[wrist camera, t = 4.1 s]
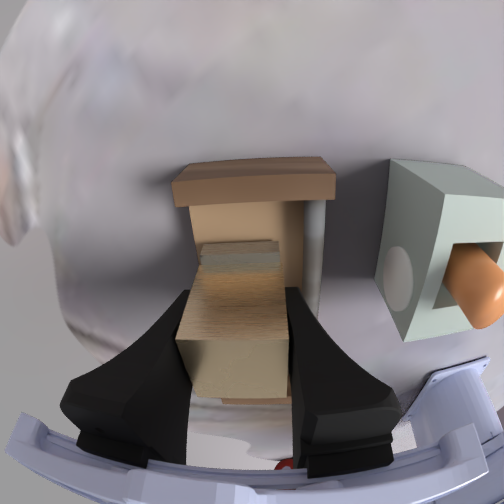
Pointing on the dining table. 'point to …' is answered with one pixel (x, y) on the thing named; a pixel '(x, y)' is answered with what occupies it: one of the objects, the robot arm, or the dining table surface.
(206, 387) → the block
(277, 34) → the dining table surface
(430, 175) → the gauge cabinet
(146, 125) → the dining table surface
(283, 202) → the rail deck
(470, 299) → the orange rounded peg
